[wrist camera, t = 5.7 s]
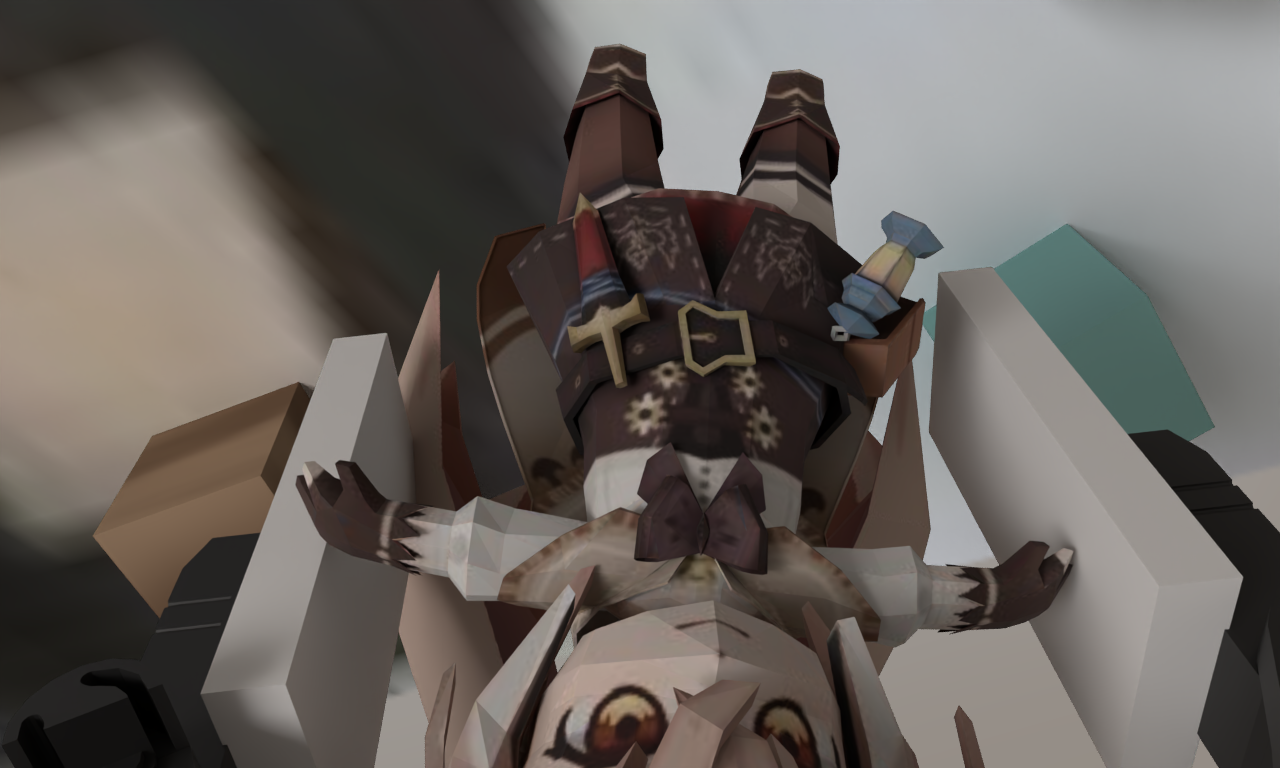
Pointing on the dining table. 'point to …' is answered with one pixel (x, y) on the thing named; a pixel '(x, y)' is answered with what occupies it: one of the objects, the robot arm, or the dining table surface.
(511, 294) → the toy
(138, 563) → the walnut cube
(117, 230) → the dining table surface
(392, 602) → the robot arm
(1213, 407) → the dining table surface
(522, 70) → the dining table surface
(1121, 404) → the teal cube
